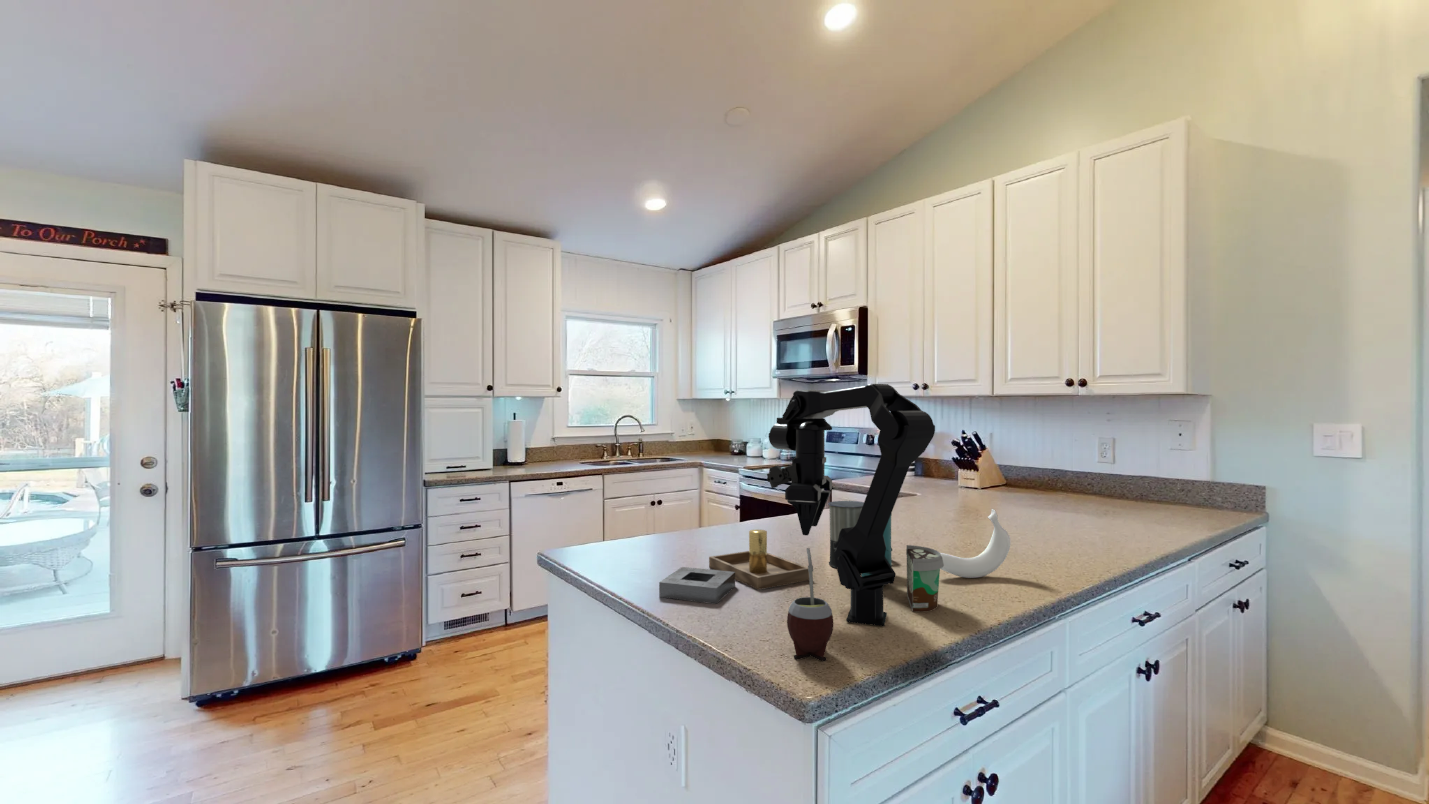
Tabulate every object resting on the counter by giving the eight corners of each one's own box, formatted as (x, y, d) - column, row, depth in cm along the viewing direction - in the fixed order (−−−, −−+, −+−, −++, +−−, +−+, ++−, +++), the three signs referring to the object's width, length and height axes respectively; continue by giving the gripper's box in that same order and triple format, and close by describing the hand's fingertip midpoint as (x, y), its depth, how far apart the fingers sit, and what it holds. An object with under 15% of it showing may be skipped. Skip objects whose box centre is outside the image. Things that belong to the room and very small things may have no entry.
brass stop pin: (757, 574, 135) (757, 534, 135) (745, 570, 138) (745, 531, 138) (770, 571, 138) (770, 531, 138) (758, 567, 141) (758, 528, 141)
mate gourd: (810, 668, 89) (810, 564, 89) (773, 650, 95) (773, 554, 95) (845, 655, 93) (845, 557, 93) (808, 639, 99) (808, 547, 100)
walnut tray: (810, 579, 133) (810, 568, 133) (757, 589, 126) (757, 577, 126) (758, 559, 150) (758, 549, 150) (709, 567, 143) (709, 556, 143)
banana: (924, 576, 136) (924, 510, 136) (1001, 571, 140) (1001, 507, 140) (936, 582, 131) (936, 514, 131) (1015, 577, 135) (1015, 511, 135)
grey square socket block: (716, 603, 117) (716, 588, 117) (659, 597, 121) (659, 582, 121) (735, 586, 128) (735, 571, 128) (682, 580, 132) (682, 566, 132)
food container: (949, 616, 110) (949, 561, 110) (913, 614, 111) (913, 559, 111) (938, 595, 122) (938, 545, 122) (906, 593, 123) (906, 544, 123)
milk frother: (824, 568, 143) (824, 504, 143) (836, 553, 157) (836, 495, 157) (887, 574, 137) (887, 508, 137) (894, 558, 152) (894, 498, 152)
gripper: (781, 448, 134) (781, 519, 134) (758, 455, 116) (758, 537, 116) (832, 449, 130) (832, 523, 130) (817, 456, 112) (817, 541, 112)
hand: (809, 530), depth 122 cm, fingers open, 9 cm apart
